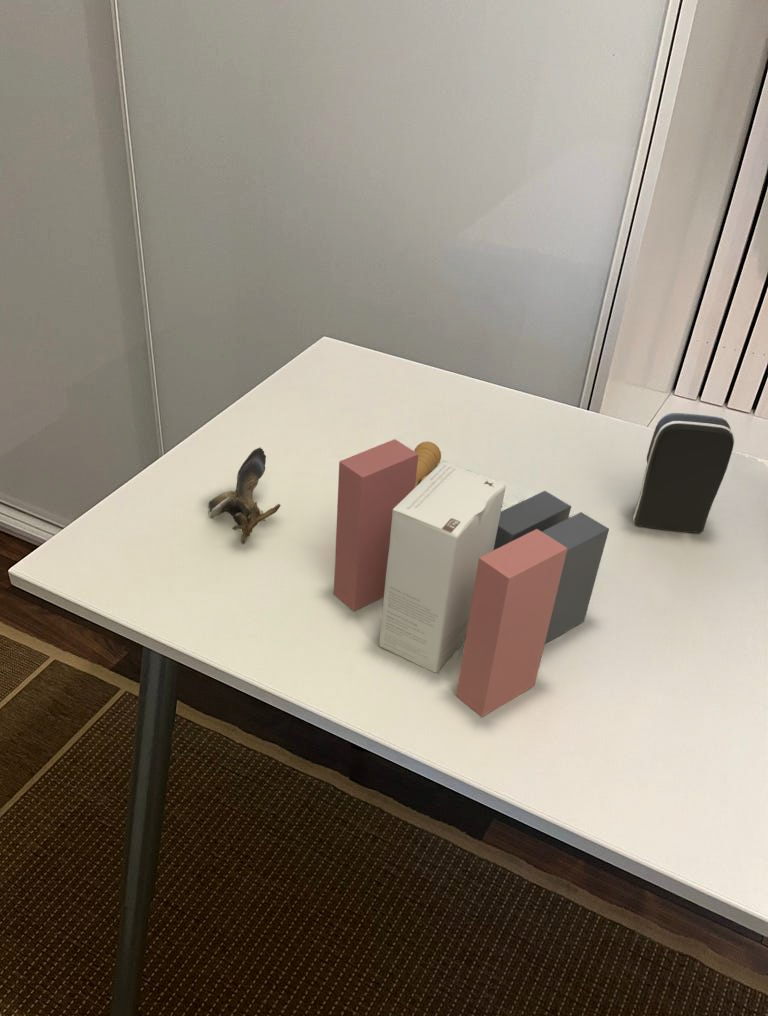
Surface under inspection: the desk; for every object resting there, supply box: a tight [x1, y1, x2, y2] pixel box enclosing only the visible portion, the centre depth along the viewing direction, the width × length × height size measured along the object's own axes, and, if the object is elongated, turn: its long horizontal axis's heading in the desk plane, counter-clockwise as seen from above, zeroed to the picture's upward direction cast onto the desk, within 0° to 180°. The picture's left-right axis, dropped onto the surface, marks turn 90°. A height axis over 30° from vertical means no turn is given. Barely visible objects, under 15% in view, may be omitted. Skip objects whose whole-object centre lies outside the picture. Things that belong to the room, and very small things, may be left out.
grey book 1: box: [494, 490, 572, 550], centre depth 84 cm, size 7×3×10 cm, turn 126°
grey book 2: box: [542, 511, 610, 645], centre depth 81 cm, size 7×3×10 cm, turn 126°
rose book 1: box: [333, 438, 419, 612], centre depth 84 cm, size 6×3×14 cm, turn 126°
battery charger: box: [632, 412, 735, 534], centre depth 93 cm, size 7×4×11 cm, turn 78°
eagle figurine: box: [208, 446, 281, 545], centre depth 95 cm, size 8×7×9 cm
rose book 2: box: [455, 529, 567, 718], centre depth 74 cm, size 6×3×14 cm, turn 126°
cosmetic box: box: [378, 461, 507, 673], centre depth 79 cm, size 8×6×15 cm
